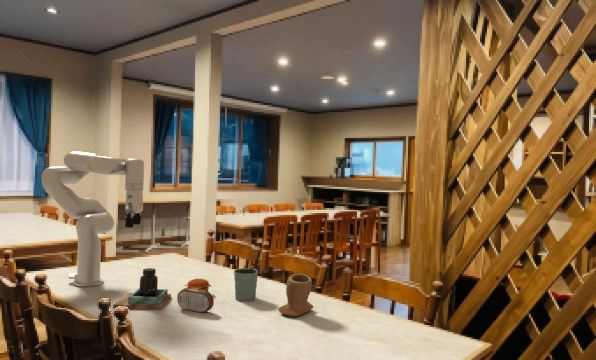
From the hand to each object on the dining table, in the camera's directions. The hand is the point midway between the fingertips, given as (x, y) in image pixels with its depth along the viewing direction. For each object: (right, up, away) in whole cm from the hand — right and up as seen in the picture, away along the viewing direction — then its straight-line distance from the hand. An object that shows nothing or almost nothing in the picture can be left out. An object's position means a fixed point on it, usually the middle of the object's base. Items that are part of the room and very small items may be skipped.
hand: (133, 225), depth 190 cm
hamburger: (+29, -30, -2) cm, 42 cm away
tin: (+33, -31, -24) cm, 51 cm away
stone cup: (+73, -32, -21) cm, 82 cm away
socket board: (+11, -29, -17) cm, 35 cm away
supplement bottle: (+12, -28, -17) cm, 35 cm away
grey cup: (+50, -31, -6) cm, 59 cm away
